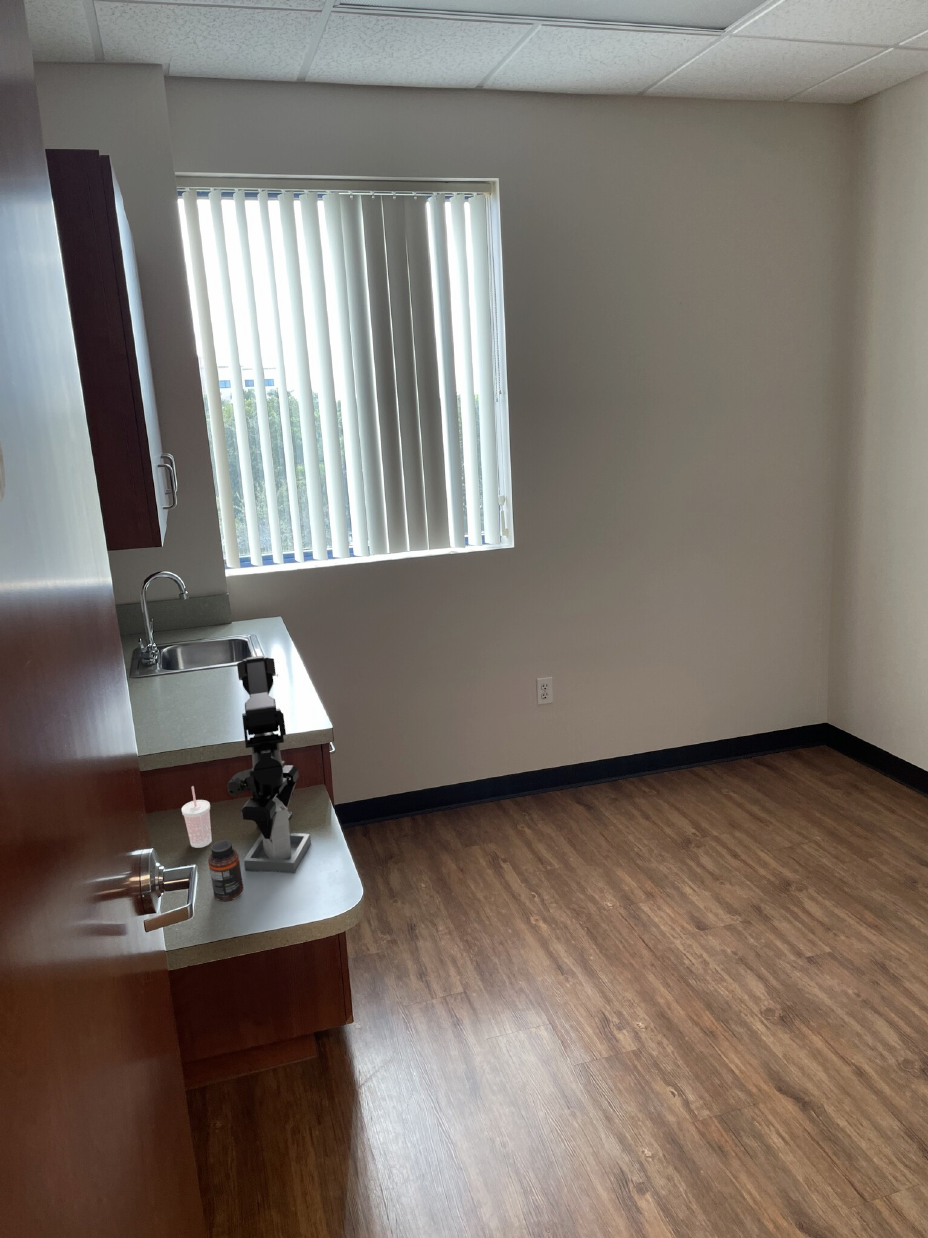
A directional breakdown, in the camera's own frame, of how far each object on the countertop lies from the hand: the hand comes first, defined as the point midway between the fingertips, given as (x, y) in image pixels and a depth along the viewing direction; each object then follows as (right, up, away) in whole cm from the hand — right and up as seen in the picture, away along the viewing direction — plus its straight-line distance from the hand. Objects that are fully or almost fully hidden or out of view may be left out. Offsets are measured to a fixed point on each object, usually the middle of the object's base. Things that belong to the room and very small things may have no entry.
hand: (275, 826), depth 182 cm
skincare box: (0, -7, +2) cm, 7 cm away
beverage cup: (-19, -6, +9) cm, 22 cm away
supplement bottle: (-7, -12, -9) cm, 16 cm away
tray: (0, -7, +2) cm, 8 cm away
